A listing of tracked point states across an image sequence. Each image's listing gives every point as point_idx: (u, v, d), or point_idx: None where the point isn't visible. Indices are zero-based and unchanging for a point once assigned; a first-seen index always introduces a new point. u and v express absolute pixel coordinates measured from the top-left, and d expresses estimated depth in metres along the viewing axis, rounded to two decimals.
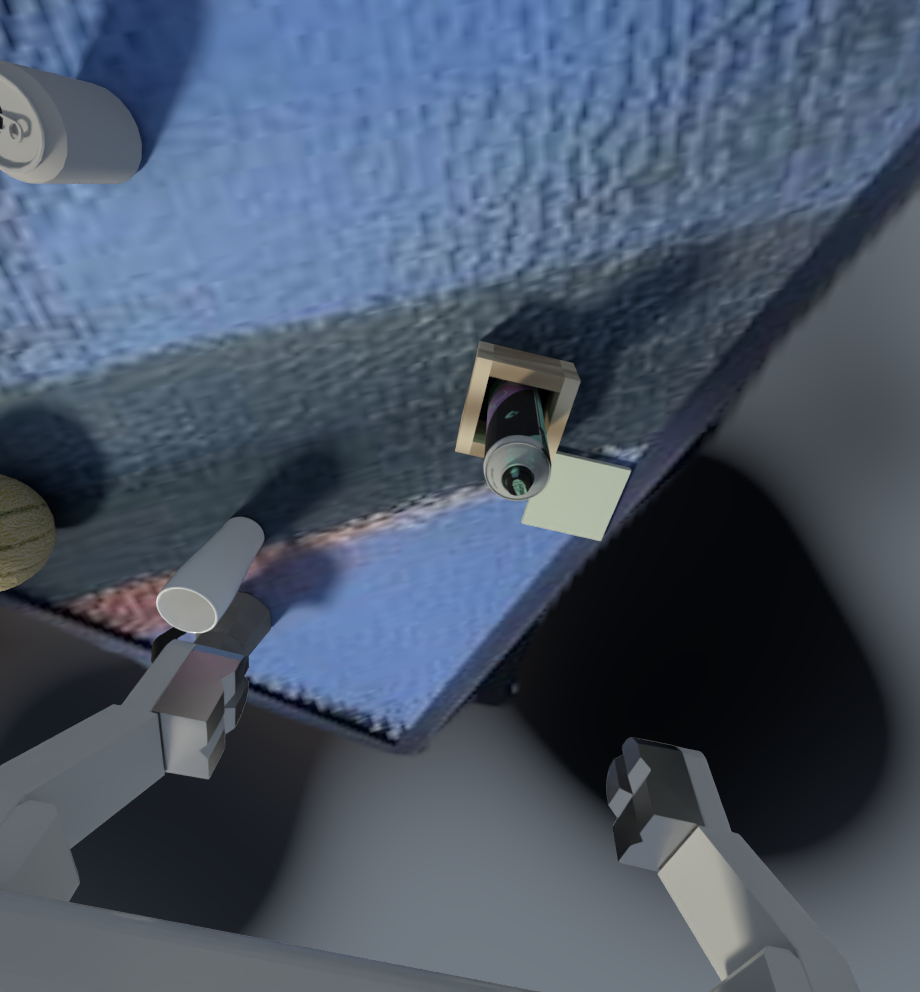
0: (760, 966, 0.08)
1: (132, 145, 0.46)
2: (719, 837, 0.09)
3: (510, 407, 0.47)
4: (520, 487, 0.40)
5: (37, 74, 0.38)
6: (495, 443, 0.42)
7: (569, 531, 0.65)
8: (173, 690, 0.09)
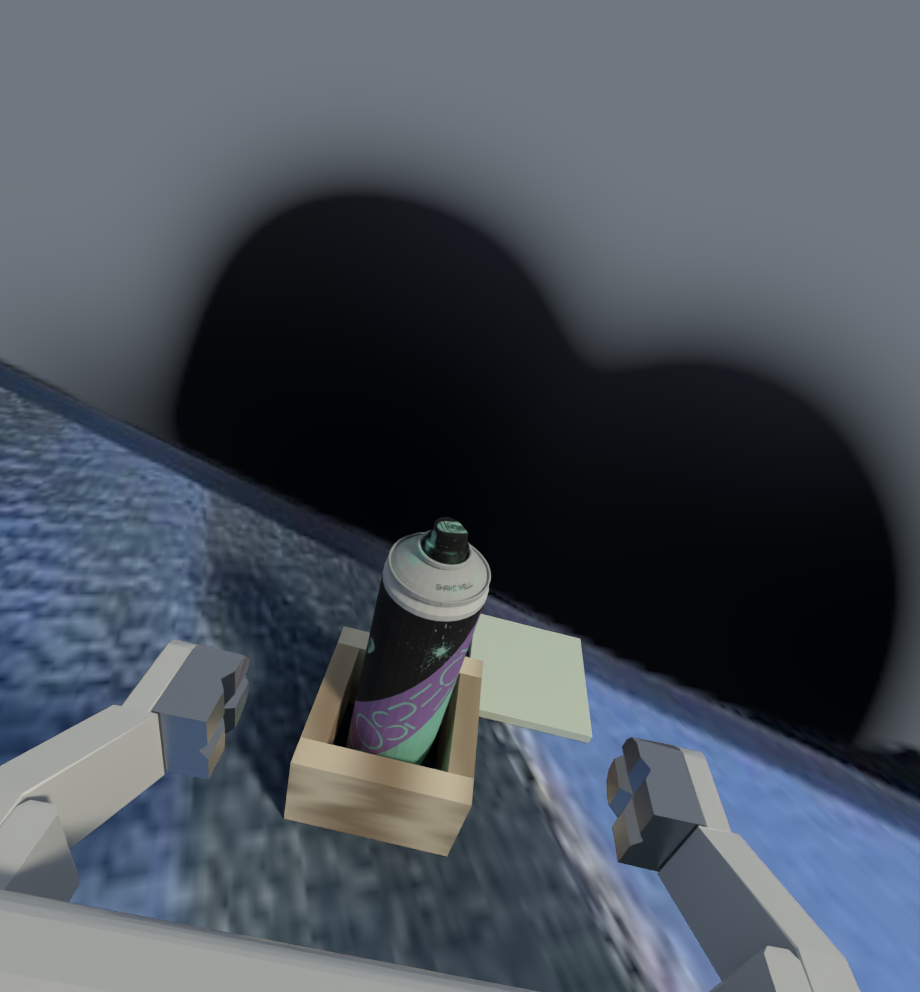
0: (760, 966, 0.08)
1: None
2: (719, 837, 0.09)
3: (366, 665, 0.29)
4: (451, 527, 0.26)
5: None
6: (397, 604, 0.25)
7: (580, 673, 0.45)
8: (173, 690, 0.09)
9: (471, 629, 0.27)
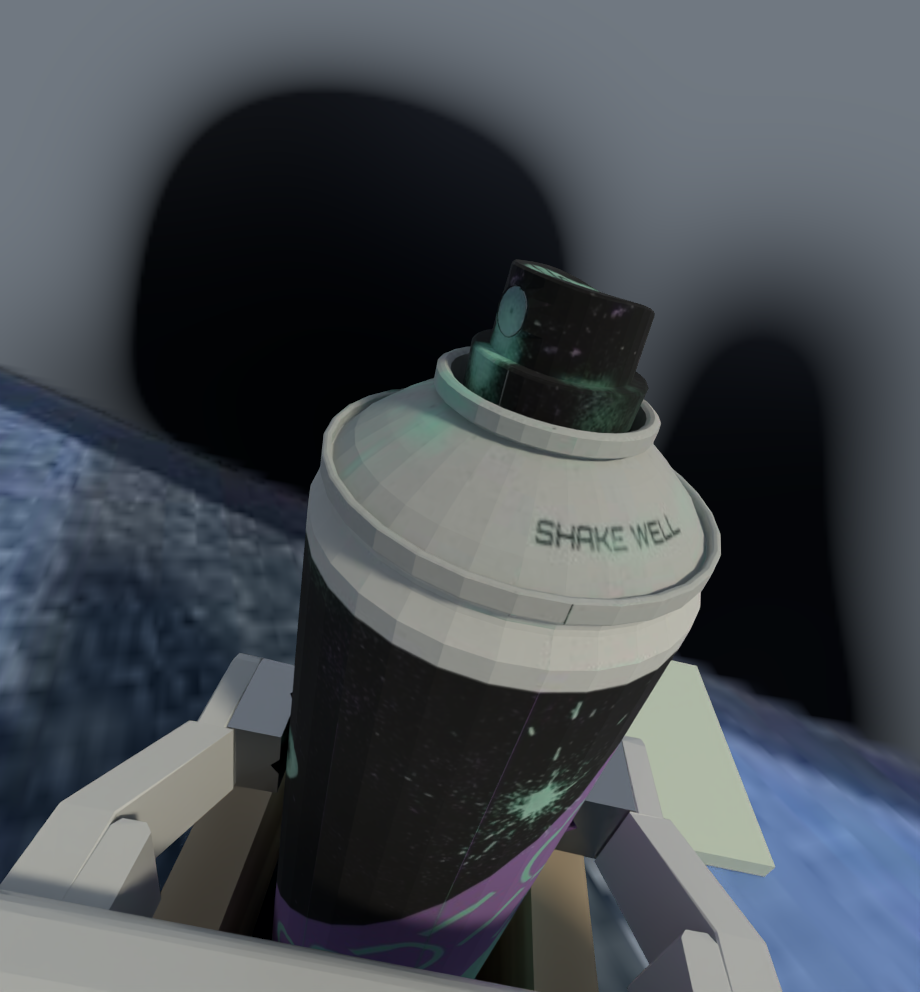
0: (678, 950, 0.08)
1: None
2: (650, 822, 0.09)
3: (285, 808, 0.10)
4: None
5: None
6: (359, 620, 0.06)
7: (715, 729, 0.26)
8: (245, 705, 0.09)
9: None
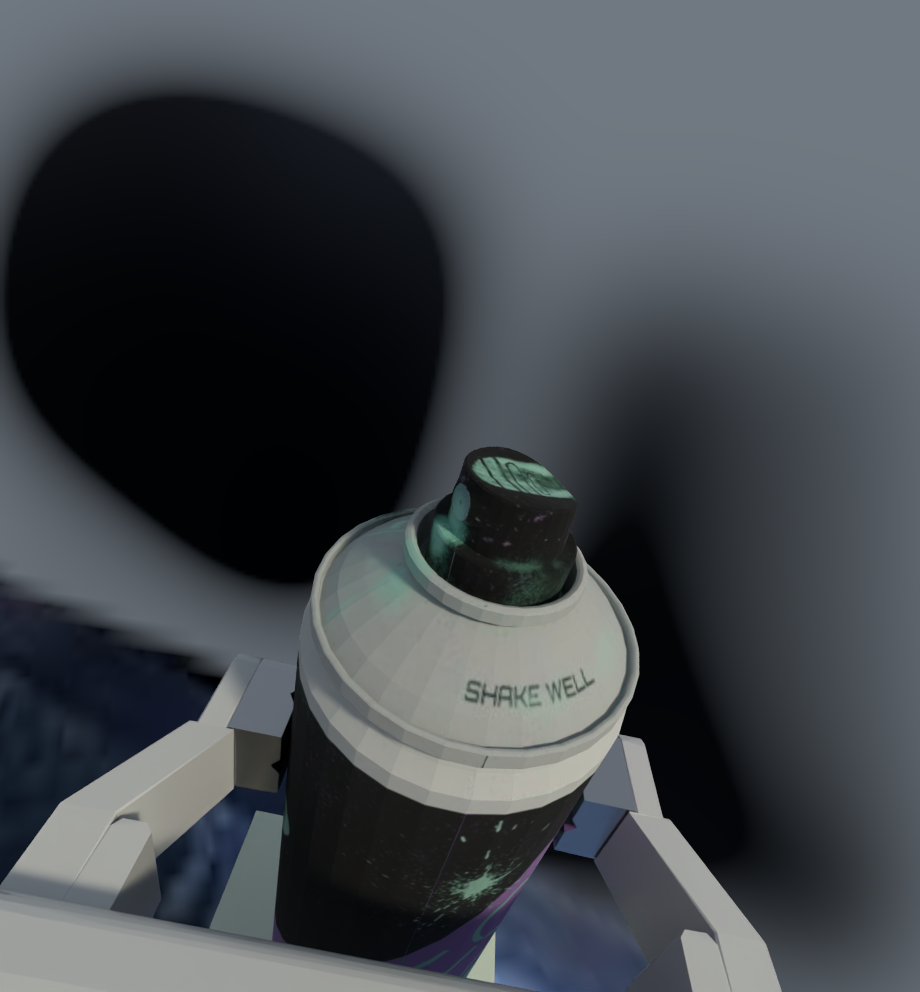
0: (677, 950, 0.08)
1: None
2: (649, 822, 0.09)
3: (280, 854, 0.11)
4: (521, 477, 0.08)
5: None
6: (331, 741, 0.07)
7: None
8: (246, 705, 0.09)
9: None
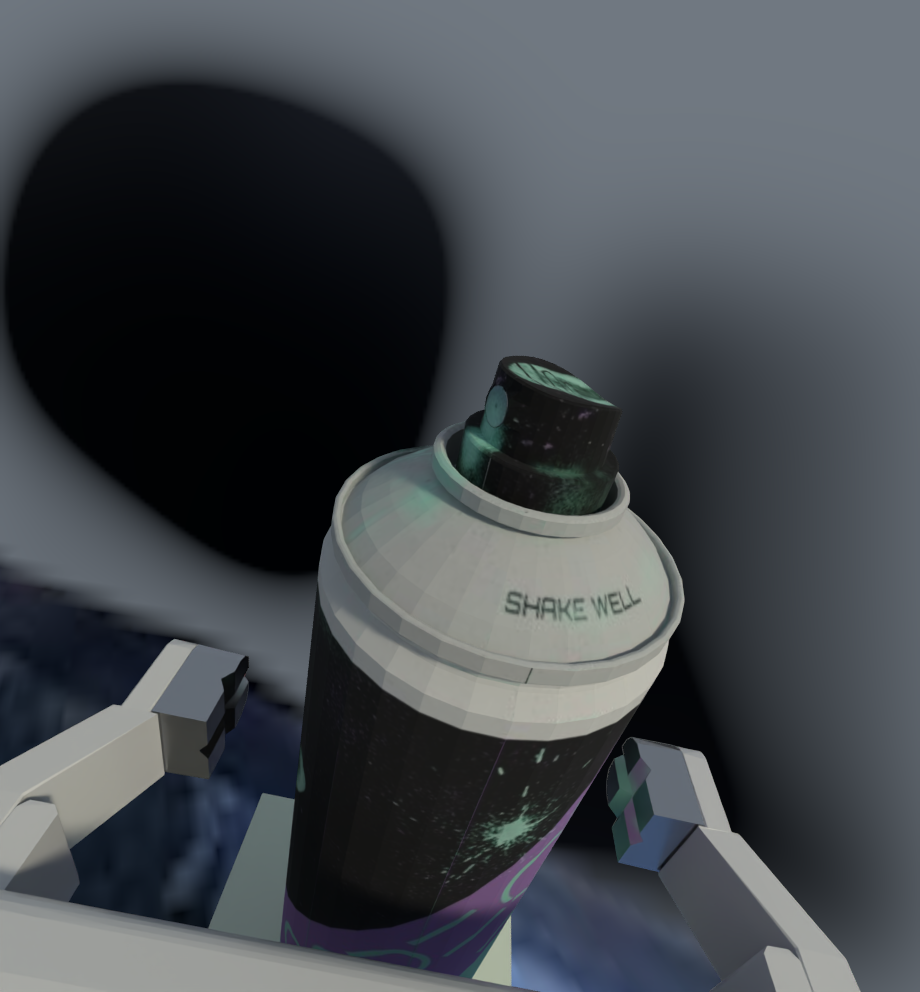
0: (760, 966, 0.08)
1: None
2: (719, 837, 0.09)
3: (294, 817, 0.11)
4: (559, 384, 0.07)
5: None
6: (356, 666, 0.07)
7: (501, 970, 0.18)
8: (173, 690, 0.09)
9: (612, 748, 0.08)
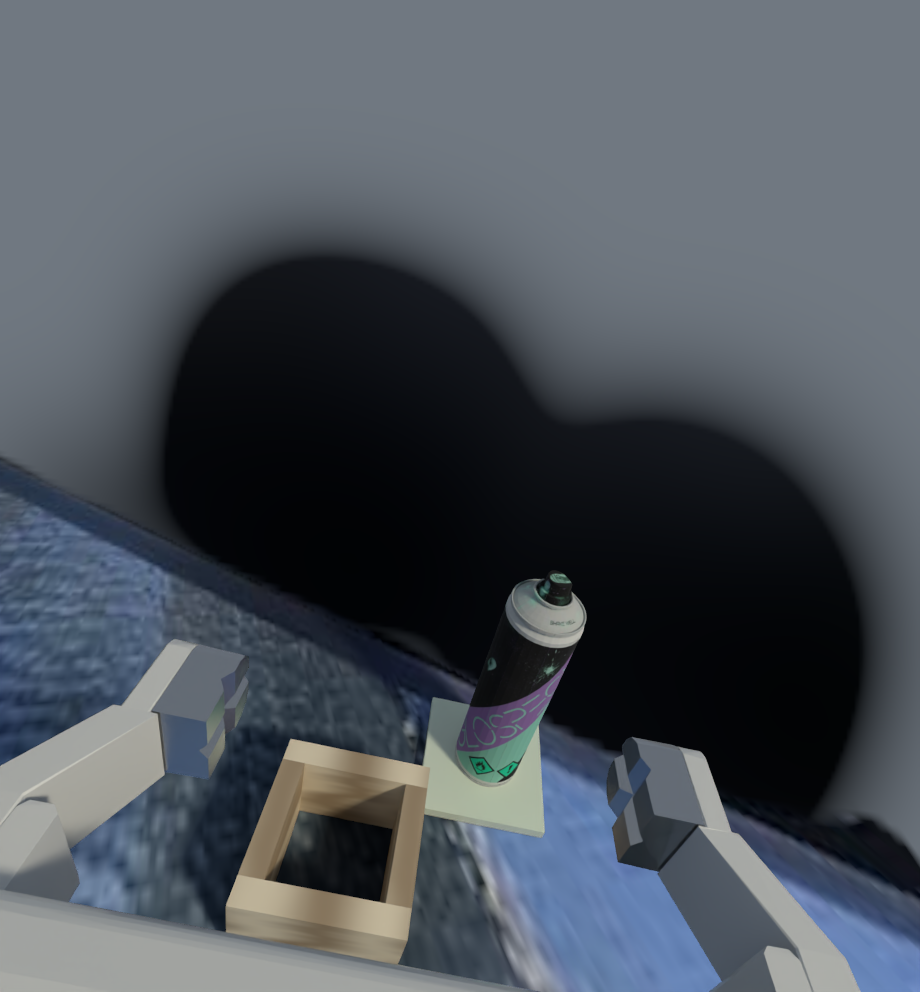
0: (760, 966, 0.08)
1: None
2: (719, 837, 0.09)
3: (485, 679, 0.39)
4: (559, 578, 0.35)
5: None
6: (520, 634, 0.35)
7: (536, 759, 0.46)
8: (173, 690, 0.09)
9: (571, 654, 0.36)
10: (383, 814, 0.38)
